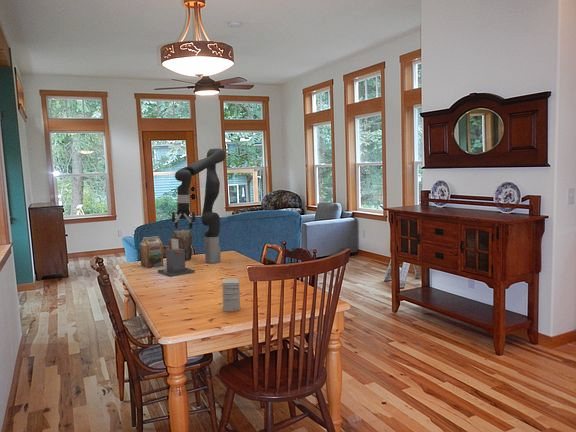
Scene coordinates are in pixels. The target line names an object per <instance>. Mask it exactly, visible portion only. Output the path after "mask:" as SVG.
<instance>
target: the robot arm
mask: <svg viewBox="0 0 576 432" xmlns="http://www.w3.org/2000/svg"><path fill="white" fill-rule="evenodd" d="M225 159H226V152H225V150H224V149H222V148H219V147H218V148H210V149H208V151H207V152H206V157H204V158H201V159H199V160H197V161H194V162H192V163H191V164H189V165H187V166H184V167H182V168H180V169H178V170H177V171H175V174H174V178H175V180H176V181H177V182H181V184H179V185H178V186H177V198H176V202H177V203H176V208H177V209H176V211H172V212H171V222H173V223H174V228H175V229H176V230H178V229H179V221H180V220H187V221H188V222H189V223H188V225H189V227H188V228H189V229H188V230H191V229H192V228H193V223H195V222H196V212H195V211H192V212H191V210H190V209H191V208H190V207H191V204H190V203H191V201H190V199H191V198H190V187H191V183H192V179H193V178H192V177H193V176H196V175H198V174H199V173H201V172H203V171H205V170H206V178H205V179H206V180H205V190H204V200H203V201H204V202H203V208H202V212H201V213H202V214H201V223H202V225H203V226H206V227H208V230H207V231H205V232H204V256H205V257H204V259H205V260H204V261H205V264H217V263H221V261H222V260H221V259H222V258H221V247H220V238H219V237H220V235H219V234H220V232H221V229H220V228H221V225H220V224H221V218H220V215H219V213H217V212H215V211H214V212H213V207H214V205H215V202H216V201H217V198H218V196H219V194H220V186H221V184H220V183H221V182H220V179H219V177H218V173H217V170H216V169H217V167H216V166H217V164H220V163H223V162H224V161H225ZM176 215H177V217H176ZM190 216H191V217H190Z"/></svg>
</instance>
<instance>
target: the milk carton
mask: <svg viewBox="0 0 576 432" xmlns="http://www.w3.org/2000/svg"><path fill="white" fill-rule="evenodd" d="M163 245H164V244H163V242H162V241H161V239H160V237H159V235H156V236H145V237H142V240H141V242H140V243H139V246H140V248H139V249H140V251H139V252H140V266H141V267H143V268H145V267H146V268H145V269H152V267H154V268H159V267H164V249H163V248H164V247H163Z"/></svg>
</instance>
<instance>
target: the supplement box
mask: <svg viewBox="0 0 576 432" xmlns="http://www.w3.org/2000/svg"><path fill="white" fill-rule="evenodd" d="M221 286H222V289H221V290H222V311H223V312H238V311H237V310H240V311H241V296H240V294H241V293H240V292H241V291H240V279H239V278H226V279H222V285H221Z"/></svg>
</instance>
